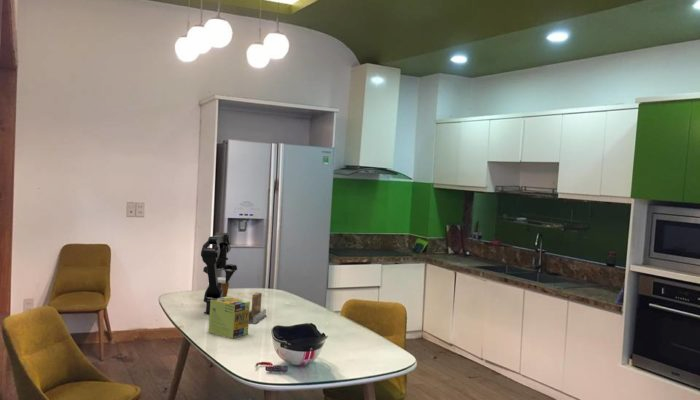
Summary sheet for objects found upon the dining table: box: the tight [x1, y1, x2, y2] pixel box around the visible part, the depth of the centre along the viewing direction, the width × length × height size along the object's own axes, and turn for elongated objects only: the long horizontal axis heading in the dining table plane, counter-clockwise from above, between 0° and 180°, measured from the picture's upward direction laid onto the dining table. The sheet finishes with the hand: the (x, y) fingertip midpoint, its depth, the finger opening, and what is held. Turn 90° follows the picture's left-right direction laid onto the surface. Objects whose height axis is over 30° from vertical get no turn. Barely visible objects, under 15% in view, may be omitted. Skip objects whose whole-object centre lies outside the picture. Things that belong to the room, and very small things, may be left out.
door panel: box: [251, 292, 262, 318], centre depth 299 cm, size 3×6×12 cm, turn 172°
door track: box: [249, 308, 267, 325], centre depth 296 cm, size 8×18×4 cm, turn 172°
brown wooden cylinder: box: [214, 276, 231, 299], centre depth 338 cm, size 10×10×12 cm
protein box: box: [208, 296, 251, 340], centre depth 268 cm, size 10×15×16 cm
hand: (219, 284), depth 315 cm, fingers open, 9 cm apart
